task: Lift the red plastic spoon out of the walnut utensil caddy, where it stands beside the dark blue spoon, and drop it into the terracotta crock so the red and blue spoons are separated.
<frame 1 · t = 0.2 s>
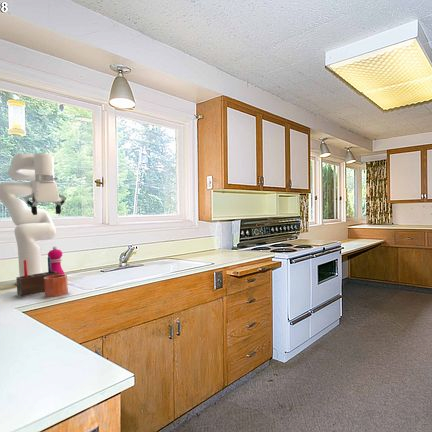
hand: (46, 214, 155), 37 cm above the countertop, tool pointing down, fingers open, 9 cm apart
caddy: (39, 293, 148), on the countertop
pepper mill: (56, 285, 162), on the countertop
crock: (56, 296, 142), on the countertop
red spoon: (27, 294, 144), point 1 cm above the countertop, touching caddy
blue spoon: (50, 289, 151), point 1 cm above the countertop, touching caddy
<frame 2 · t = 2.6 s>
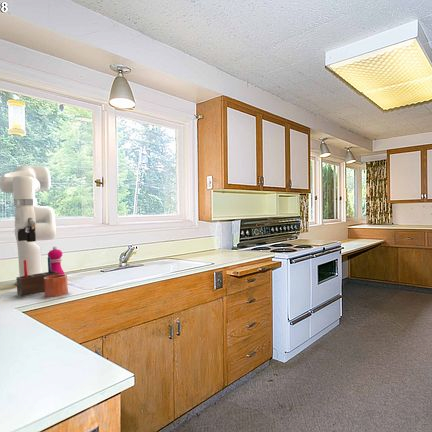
hand: (26, 241, 144), 25 cm above the countertop, tool pointing down, fingers open, 9 cm apart
nothing on the countertop moved.
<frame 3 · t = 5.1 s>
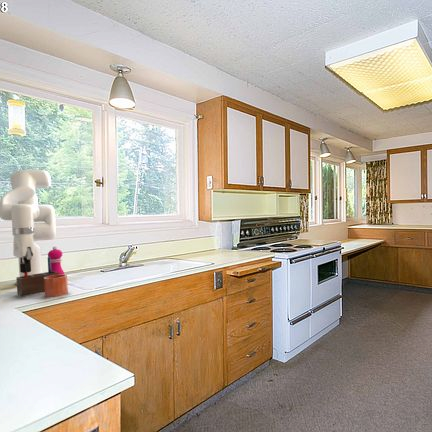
hand: (25, 271, 143), 11 cm above the countertop, tool pointing down, fingers closed on red spoon, 1 cm apart
red spoon: (27, 294, 144), point 1 cm above the countertop, touching caddy, gripper
everything else where it was.
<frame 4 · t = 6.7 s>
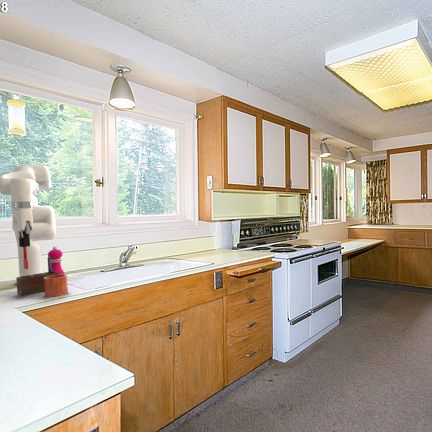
hand: (24, 246, 143), 23 cm above the countertop, tool pointing down, fingers closed on red spoon, 1 cm apart
red spoon: (26, 268, 144), point 12 cm above the countertop, touching gripper
everything else where it was.
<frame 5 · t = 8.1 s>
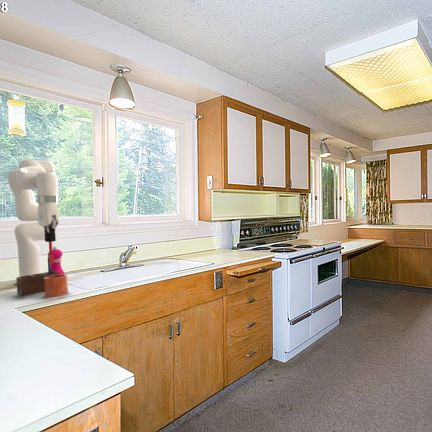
hand: (50, 241, 141), 25 cm above the countertop, tool pointing down, fingers closed on red spoon, 1 cm apart
red spoon: (51, 263, 142), point 15 cm above the countertop, touching gripper
everything else where it was.
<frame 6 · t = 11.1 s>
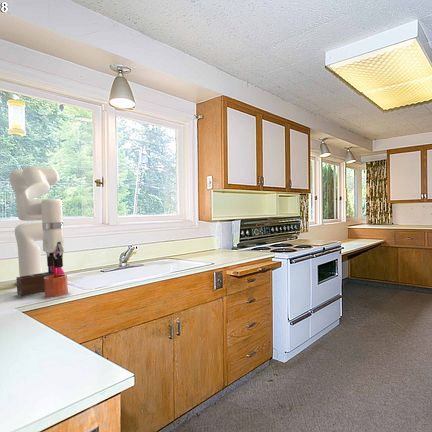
hand: (55, 266, 142), 14 cm above the countertop, tool pointing down, fingers open, 6 cm apart
red spoon: (56, 294, 142), point 1 cm above the countertop, touching crock
everything else where it was.
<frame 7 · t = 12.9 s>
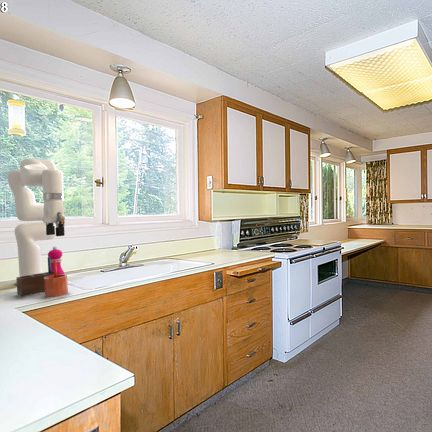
hand: (55, 235, 143), 27 cm above the countertop, tool pointing down, fingers open, 9 cm apart
nothing on the countertop moved.
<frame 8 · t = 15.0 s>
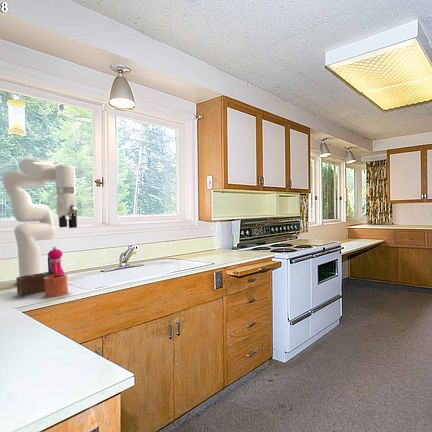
hand: (68, 227, 150), 30 cm above the countertop, tool pointing down, fingers open, 9 cm apart
nothing on the countertop moved.
at the end: red spoon 0.0 cm off-centre in the crock, point 0.8 cm above the crock's base; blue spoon 0.0 cm from the target spot in the caddy, point 0.8 cm above the caddy's base; the gripper is holding nothing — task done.
